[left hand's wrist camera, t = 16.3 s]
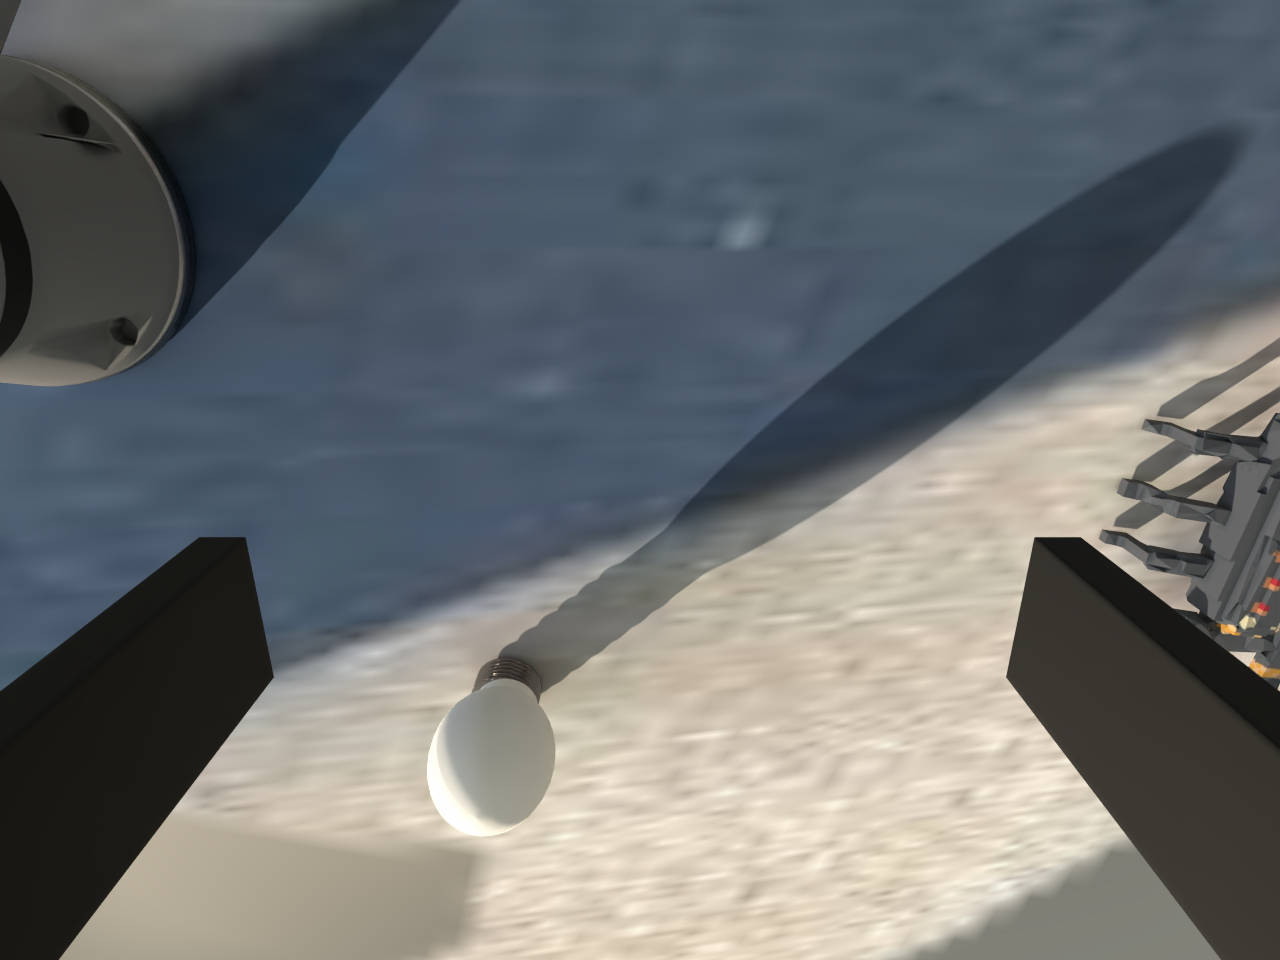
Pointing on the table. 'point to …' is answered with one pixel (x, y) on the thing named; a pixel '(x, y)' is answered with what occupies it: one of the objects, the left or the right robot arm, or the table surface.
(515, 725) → the light bulb
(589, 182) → the table surface
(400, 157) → the table surface
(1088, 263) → the table surface
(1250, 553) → the toy
